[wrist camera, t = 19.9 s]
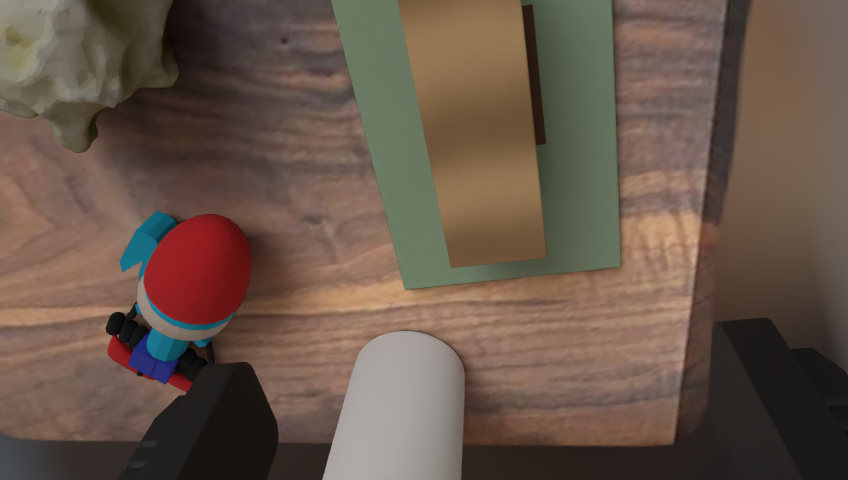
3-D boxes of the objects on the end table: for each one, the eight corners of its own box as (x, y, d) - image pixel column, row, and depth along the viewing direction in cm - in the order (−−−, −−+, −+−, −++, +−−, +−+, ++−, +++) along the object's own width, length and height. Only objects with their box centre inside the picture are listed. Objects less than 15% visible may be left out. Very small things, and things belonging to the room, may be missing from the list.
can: (365, 409, 37) (318, 611, 27) (347, 327, 34) (285, 521, 23) (469, 407, 36) (462, 616, 26) (460, 323, 33) (448, 523, 23)
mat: (294, -158, 22) (289, -159, 21) (601, -234, 20) (604, -238, 20) (406, 283, 32) (404, 290, 31) (619, 260, 30) (621, 267, 29)
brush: (405, -55, 23) (388, -42, 19) (509, -76, 22) (514, -68, 18) (455, 217, 29) (450, 269, 25) (539, 207, 28) (547, 258, 24)
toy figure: (226, 379, 39) (309, 236, 29) (184, 443, 35) (263, 302, 26) (121, 320, 38) (173, 153, 29) (66, 379, 34) (104, 209, 25)
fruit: (109, -163, 24) (15, -181, 17) (242, 53, 28) (211, 107, 21) (-78, -54, 25) (-239, -30, 18) (80, 136, 29) (1, 213, 23)
